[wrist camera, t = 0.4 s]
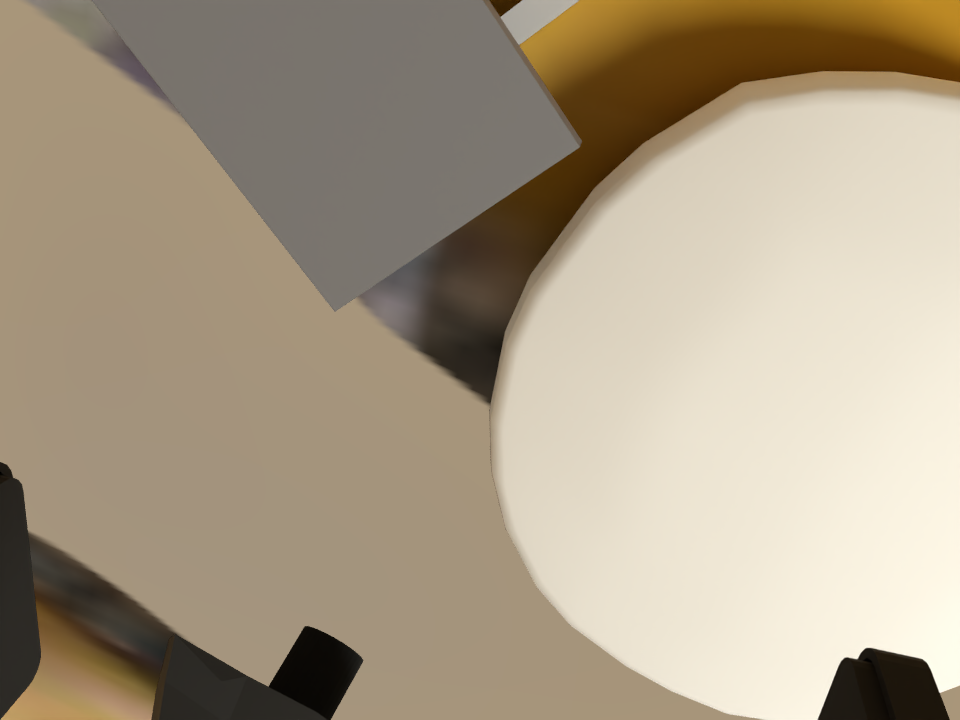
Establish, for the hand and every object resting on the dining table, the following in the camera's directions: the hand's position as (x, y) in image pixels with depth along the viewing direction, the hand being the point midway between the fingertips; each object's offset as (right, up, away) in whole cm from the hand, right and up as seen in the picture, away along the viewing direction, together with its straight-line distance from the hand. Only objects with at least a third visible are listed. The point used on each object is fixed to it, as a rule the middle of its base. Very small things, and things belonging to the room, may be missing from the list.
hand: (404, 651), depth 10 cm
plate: (+15, +2, +30) cm, 33 cm away
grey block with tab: (-4, +18, +25) cm, 31 cm away
